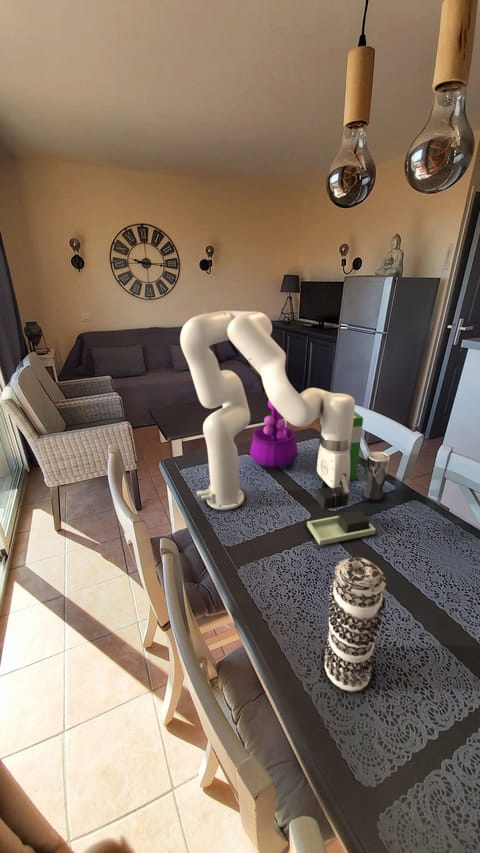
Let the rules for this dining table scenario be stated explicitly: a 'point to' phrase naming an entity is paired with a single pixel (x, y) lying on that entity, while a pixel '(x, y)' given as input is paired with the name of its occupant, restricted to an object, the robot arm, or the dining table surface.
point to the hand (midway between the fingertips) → (331, 500)
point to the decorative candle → (353, 622)
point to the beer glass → (376, 474)
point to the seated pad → (353, 521)
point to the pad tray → (334, 531)
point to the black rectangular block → (328, 497)
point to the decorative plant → (274, 442)
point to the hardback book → (352, 444)
